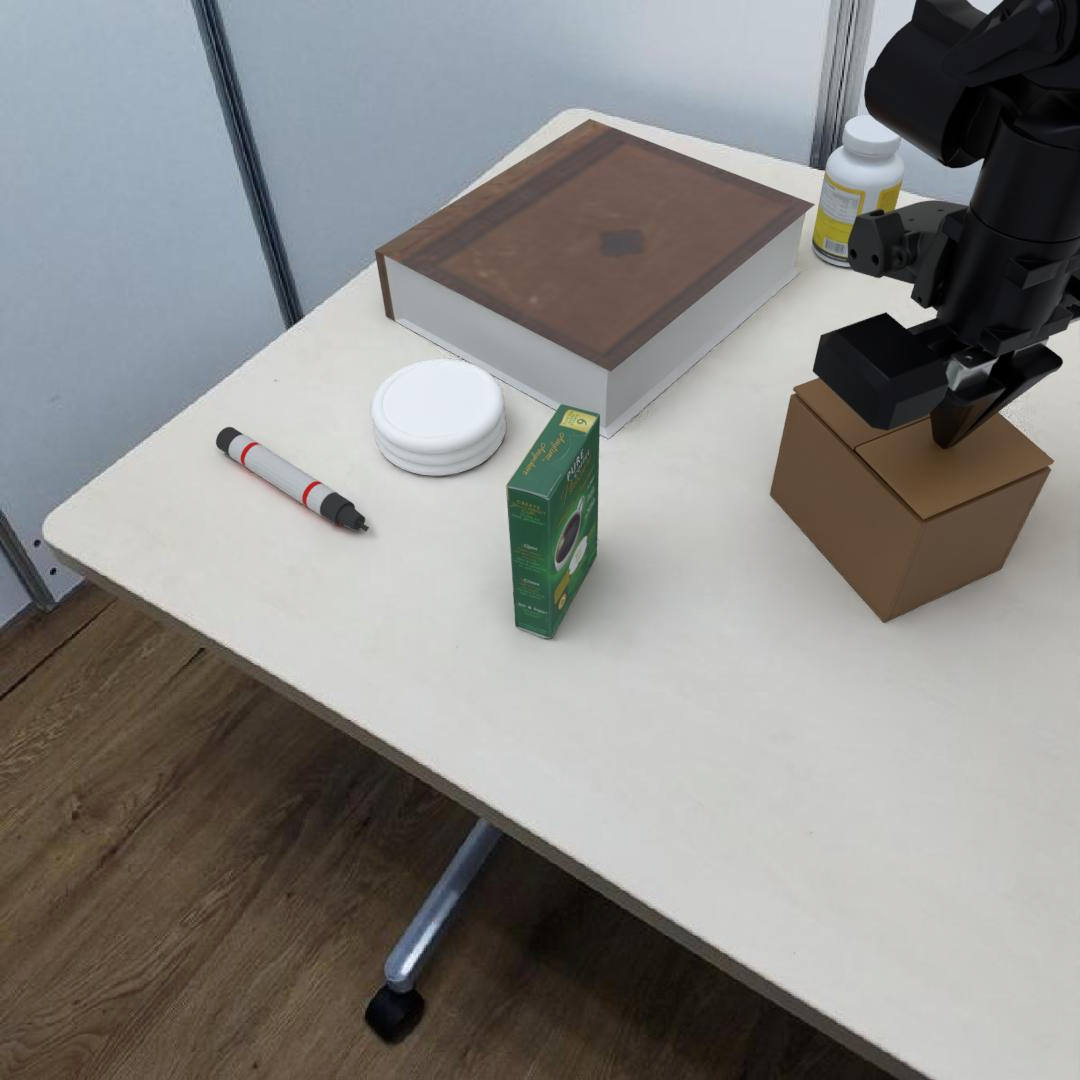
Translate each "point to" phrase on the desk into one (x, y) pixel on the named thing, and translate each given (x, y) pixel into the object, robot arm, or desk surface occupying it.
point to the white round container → (438, 417)
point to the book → (594, 269)
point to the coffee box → (554, 519)
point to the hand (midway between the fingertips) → (943, 443)
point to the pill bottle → (856, 184)
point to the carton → (886, 510)
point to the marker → (290, 479)
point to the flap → (952, 463)
